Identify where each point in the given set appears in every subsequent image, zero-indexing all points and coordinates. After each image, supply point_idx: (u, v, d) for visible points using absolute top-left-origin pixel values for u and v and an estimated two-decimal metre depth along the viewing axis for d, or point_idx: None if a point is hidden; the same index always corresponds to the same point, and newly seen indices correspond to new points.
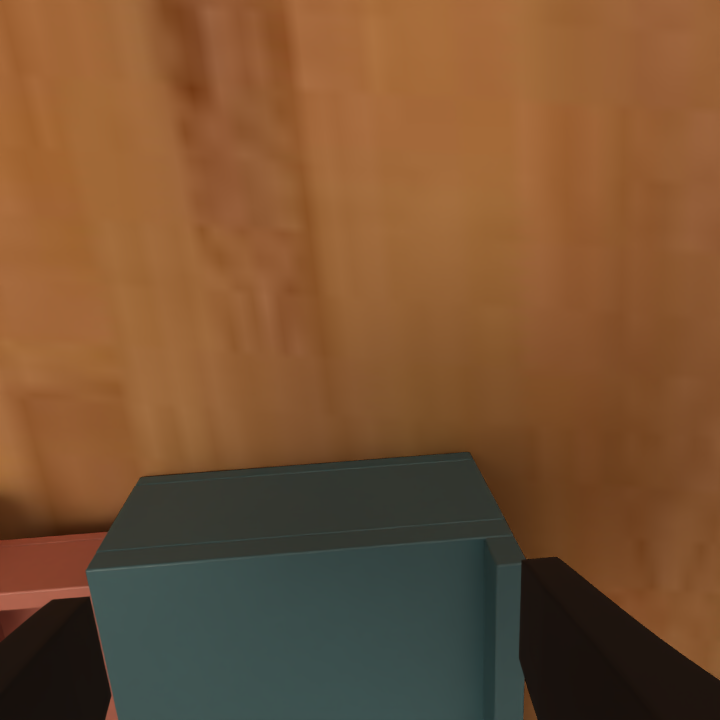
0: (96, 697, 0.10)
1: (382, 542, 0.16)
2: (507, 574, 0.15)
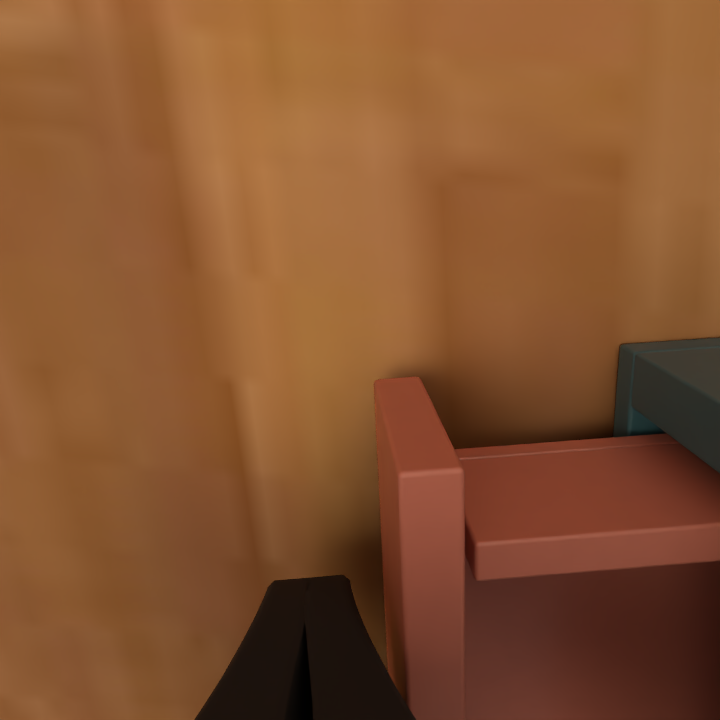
0: None
1: None
2: None
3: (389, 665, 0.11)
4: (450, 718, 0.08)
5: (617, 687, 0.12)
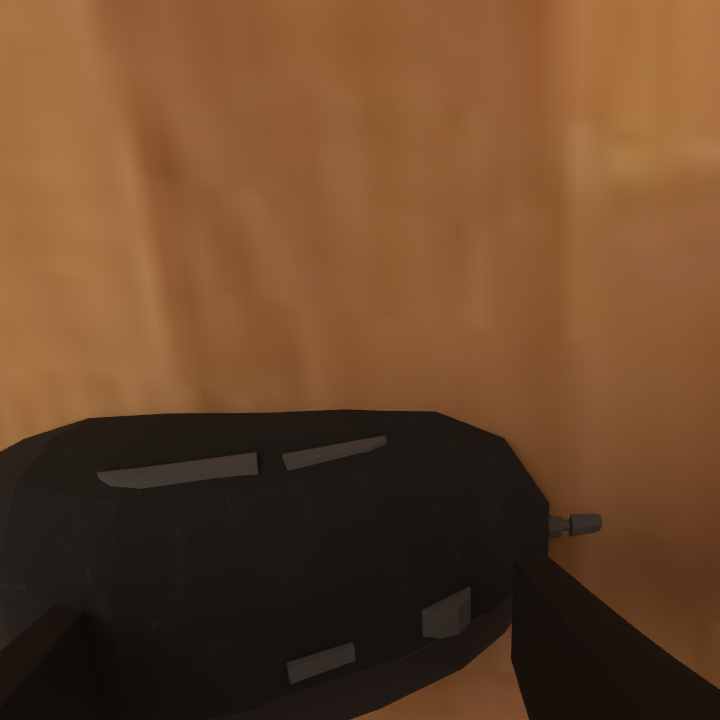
0: None
1: None
2: None
3: None
4: None
5: None
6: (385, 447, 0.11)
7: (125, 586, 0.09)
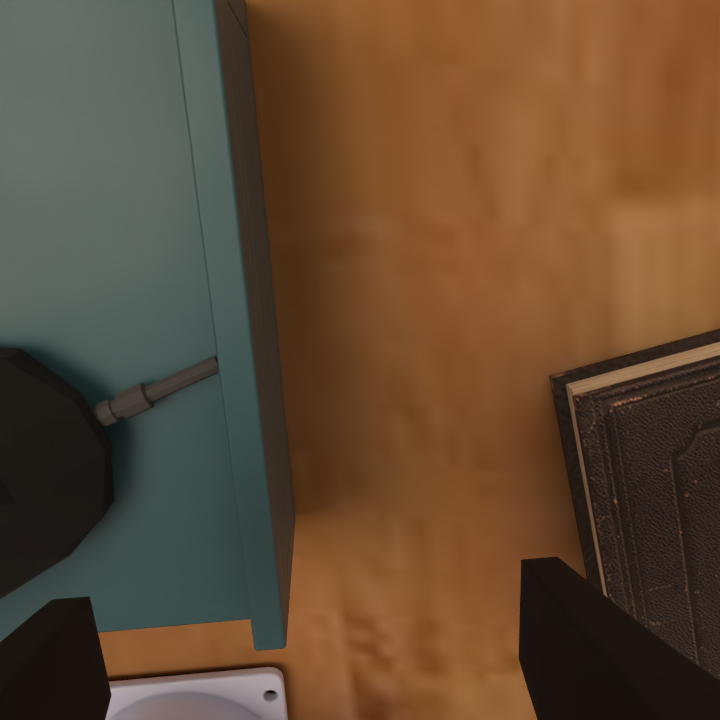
0: (96, 697, 0.10)
1: None
2: None
3: None
4: None
5: None
6: None
7: None
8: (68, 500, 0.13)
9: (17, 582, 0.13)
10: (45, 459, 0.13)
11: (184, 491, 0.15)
